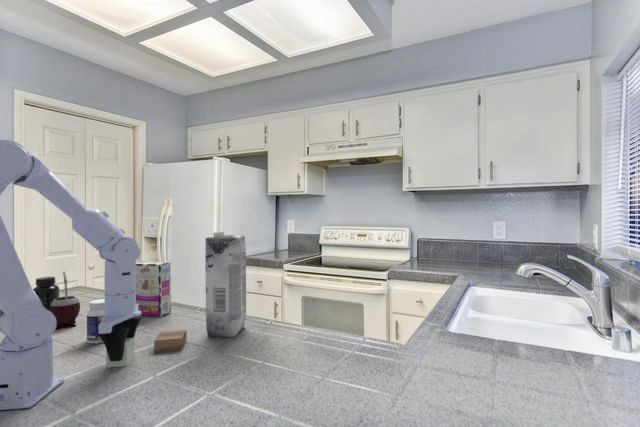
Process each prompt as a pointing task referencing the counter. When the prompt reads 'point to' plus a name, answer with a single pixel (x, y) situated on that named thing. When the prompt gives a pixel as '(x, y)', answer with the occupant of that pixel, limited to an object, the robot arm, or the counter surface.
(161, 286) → the candy bar box
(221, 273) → the juice carton
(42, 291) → the supplement bottle
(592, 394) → the counter surface
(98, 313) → the pill bottle
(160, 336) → the walnut block
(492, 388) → the counter surface
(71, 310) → the mate gourd
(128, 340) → the sage block
